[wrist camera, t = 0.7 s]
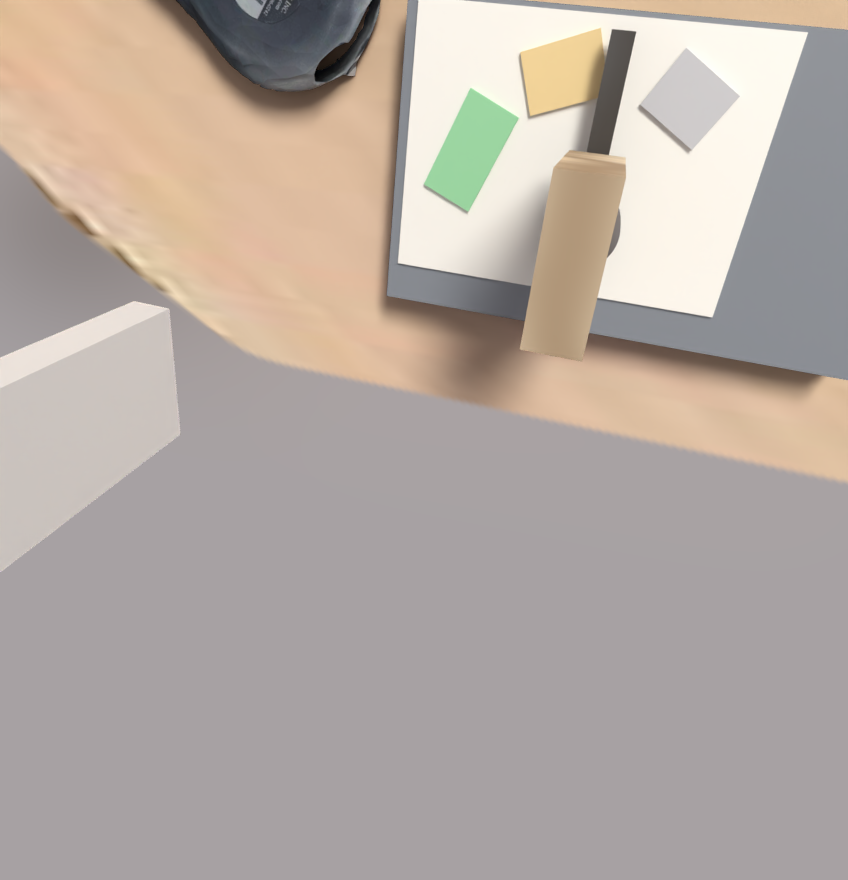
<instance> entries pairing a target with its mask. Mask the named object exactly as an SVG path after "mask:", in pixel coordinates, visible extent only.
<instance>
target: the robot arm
mask: <svg viewBox="0 0 848 880" xmlns="http://www.w3.org/2000/svg"><path fill="white" fill-rule="evenodd" d="M179 435H180V422H179V412H178V401H177V389H176V379H175V367H174V356H173V346H172V335H171V323H170V313H169V309H168V308H163V307H158V306H154V305H149V304H145V303H140V302H135V301H133V302H131V303H128V304H126V305H124V306H122V307H119V308H117V309H114V310H112V311H109V312H107V313H105V314H102V315H100V316H98V317H95V318H93V319H90V320H88V321H86V322H83V323H81V324H79V325H76V326H74V327H71V328H69V329H67V330H64V331H62V332H60V333H57V334H55V335H53V336H50V337H48V338H45V339H43V340H41V341H38V342H36V343H34V344H31V345H29V346H27V347H24V348H22V349H19V350H17V351H15V352H12V353H10V354H7V355H5V356H3V357H1V358H0V572H1V571H2V570H4V569H5V568H6V567H8V566H9V565H10V564H12V563H13V562H14V561H16V559H18V558H19V557H21V556H22V555H23V554H25V553H26V552H27V551H29V550H30V549H31V548H33V547H34V546H35V545H36V544H38V543H39V542H40V541H41V540H43V539H44V538H46V537H47V536H48V535H50V534H51V533H52V532H53V531H55V530H56V529H57V528H59V527H60V526H61V525H63V524H64V523H65V522H66V521H68V520H69V519H70V518H72V517H73V516H74V515H76V514H77V513H78V512H79V511H81V510H82V509H83V508H85V507H86V506H87V505H89V504H90V503H91V502H92V501H94V500H95V499H97V498H98V497H99V496H100V495H102V494H103V493H104V492H106V491H107V490H108V489H110V488H111V487H112V486H114V485H115V484H116V483H117V482H119V481H120V480H121V479H123V478H124V477H125V476H127V475H128V474H129V473H131V472H132V471H133V470H135V469H136V468H137V467H138V466H140V465H141V464H142V463H144V462H145V461H146V460H147V459H149V458H150V457H151V456H153V455H154V454H155V453H157V452H158V451H159V450H161V449H162V448H163V447H165V446H166V445H167V444H169V443H170V442H171V441H172V440H174V439H175V438H176V437H178V436H179Z"/></svg>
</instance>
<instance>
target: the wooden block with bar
mask: <svg viewBox="0 0 848 880" xmlns="http://www.w3.org/2000/svg"><path fill="white" fill-rule="evenodd" d="M635 36H636V31H627V30H617V29H612V31H611V36H610V41H609V46H608V51H607V55H606V60H605V65H604V70H603V75H602V80H601V84H600V89H599V94H598V99H597V104H596V109H595V114H594V118H593V123H592V128H591V133H590V138H589V143H588V147H587V152H581V151H574V150H569V151H568V152H567V153H566V154H565V155H564V157H563V158H562V159H561V160H560V161H559V162H558V163H557V164H556V165H555V166H554V167H553V172H552V177H551V183H550V188H549V193H548V199H547V204H546V210H545V215H544V220H543V226H542V231H541V237H540V242H539V248H538V253H537V258H536V264H535V269H534V275H533V280H532V285H531V291H530V296H529V302H528V307H527V312H526V318H525V323H524V329H523V334H522V340H521V345H520V350H524V351H529V352H535V353H540V354H545V355H550V356H555V357H561V358H566V359H571V360H576V361H582V360H583V356H584V352H585V347H586V343H587V339H588V335H589V331H590V327H591V322H592V318H593V314H594V310H595V306H596V301H597V297H598V293H599V289H600V285H601V281H602V276H603V272H604V268H605V264H606V260H607V258H608V257H609V256H610V254H611V253H612V252H613V250H614V249H615V247H616V245H617V243H618V240H619V237H620V229H621V215H620V210H619V205H620V201H621V197H622V193H623V188H624V184H625V180H626V157H619V156H611V155H609V152H610V148H611V143H612V139H613V134H614V130H615V125H616V121H617V116H618V112H619V107H620V103H621V98H622V94H623V89H624V85H625V80H626V76H627V72H628V67H629V63H630V58H631V54H632V49H633V45H634V40H635Z"/></svg>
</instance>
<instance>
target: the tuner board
mask: <svg viewBox="0 0 848 880" xmlns="http://www.w3.org/2000/svg"><path fill="white" fill-rule="evenodd" d="M612 29H617V30H627V31H636V36H635V40H634V45H633V49H632V54H631V58H630V63H629V67H628V72H627V76H626V80H625V85H624V89H623V94H622V98H621V103H620V107H619V112H618V116H617V121H616V125H615V130H614V134H613V139H612V143H611V148H610V152H609V155H611V156H619V157H626V180H625V184H624V188H623V193H622V197H621V201H620V205H619V210H620V215H621V229H620V237H619V240H618V243H617V245H616V247H615V249H614V250H613V252H612V253H611V254H610V256H609V257H608V258H607V260H606V264H605V268H604V272H603V276H602V281H601V285H600V289H599V293H598V297H597V301H596V306H595V310H594V314H593V318H592V322H591V327H590V331H589V333H593V334H598V335H604V336H609V337H615V338H620V339H626V340H631V341H637V342H642V343H647V344H653V345H658V346H664V347H669V348H675V349H680V350H686V351H691V352H697V353H702V354H708V355H713V356H719V357H724V358H729V359H735V360H740V361H746V362H751V363H757V364H762V365H768V366H773V367H779V368H784V369H790V370H795V371H801V372H806V373H811V374H817V375H822V376H828V377H833V378H839V379H844V380H848V30H844V29H833V28H822V27H811V26H800V25H789V24H778V23H767V22H756V21H745V20H734V19H723V18H712V17H701V16H690V15H679V14H668V13H657V12H646V11H636V10H625V9H614V8H603V7H592V6H581V5H570V4H559V3H548V2H537V1H526V0H408V6H407V20H406V34H405V48H404V62H403V76H402V90H401V104H400V118H399V132H398V146H397V160H396V174H395V188H394V202H393V216H392V230H391V244H390V258H389V272H388V286H387V296H391V297H396V298H402V299H407V300H412V301H418V302H423V303H429V304H434V305H440V306H445V307H451V308H456V309H462V310H467V311H473V312H478V313H484V314H489V315H494V316H500V317H505V318H511V319H516V320H522V321H525V318H526V312H527V307H528V302H529V296H530V291H531V285H532V280H533V275H534V269H535V264H536V258H537V253H538V248H539V242H540V237H541V231H542V226H543V220H544V215H545V210H546V204H547V199H548V193H549V188H550V183H551V177H552V172H553V167H554V166H555V165H556V164H557V163H558V162H559V161H560V160H561V159H562V158H563V157H564V155H565V154H566V153H567V152H568V151H569V150H574V151H581V152H587V147H588V143H589V138H590V133H591V128H592V123H593V118H594V114H595V109H596V104H597V99H598V94H599V89H600V84H601V80H602V75H603V70H604V65H605V60H606V55H607V51H608V46H609V41H610V36H611V31H612Z"/></svg>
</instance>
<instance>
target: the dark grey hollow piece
mask: <svg viewBox="0 0 848 880" xmlns="http://www.w3.org/2000/svg"><path fill="white" fill-rule="evenodd" d="M176 1H177V2H178V3H179V4H180V5H181V6H182V7H183V8H184V10H185V11H186V12H187V13H188V14H189V15H190V16H191V17H193V18H194V19H195V20H196V21H197V23H198V25H199V26H200V27H201V29H202V30H203V31H204V32H205V34H206V35H207V36H208V37H209V39H210V40H211V41H212V43H213V44H214V46H215V47H216V48H217V50H218V51H219V52H220V54H221V55H222V56H223V57H224V58H225V59H226V60H227V61H228V63H229V64H230V65H231V66H232V67H234V68H235V69H236V70H237V71H238V72H240V73H241V74H242V75H243V76H245V77H246V78H248V79H249V80H250V81H252V82H253V83H254V84H260V86H261V87H263V88H266V89H273V90H276V91H288V92H294V91H304V90H309V89H313V88H316V87H318V86H321V85H323V84H325V83H328V82H330V81H332V80H334V79H336V78H338V77H339V76H342V75H347V76H355V72H356V66H355V65H356V63H357V61H358V59H359V57H360V55H361V54H362V52H363V50H364V48H365V46H366V44H367V42H368V40H369V38H370V35H371V33H372V30H373V28H374V25H375V22H376V20H377V17H378V14H379V7H380V0H176ZM369 4H370V5H369ZM368 5H369V10H368V12H367V14H366V17H365V21H364V26H363V28H362V29H361V31H360V32H359V33H358V36H357V38H356V40H355V41H354V42H353V44H352V45H351V46H350V48H349V49H348V51H347V52H346V53H345V54H344V55H343V56H342V57H341V58H340V59H339V60H338V59H337V61H336V62H335V63H333V64H332V65H330V66H328V67H326V68H324V69H322V70H316V68H317V66H318V64H319V62H320V61H321V60H322V59H323V58H324V57H325V56H326V55H327V54H328V53H330V52H331V51H332V50H333V49H334V48H335V47H337V46H340V45H342V44H344V43H349V41H350V40H351V38H352V37H353V35H354V33H355V31H356V29H357V27H358V25H359V23H360V21H361V19H362V17H363V15H364V13H365V11H366V9H367V7H368Z"/></svg>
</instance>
